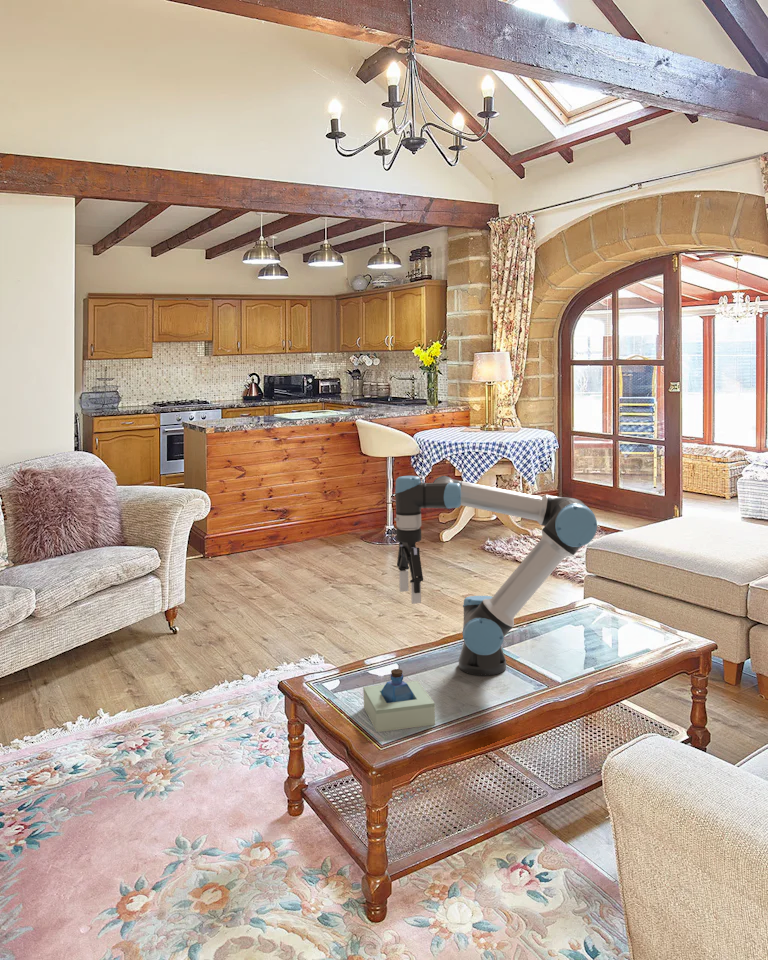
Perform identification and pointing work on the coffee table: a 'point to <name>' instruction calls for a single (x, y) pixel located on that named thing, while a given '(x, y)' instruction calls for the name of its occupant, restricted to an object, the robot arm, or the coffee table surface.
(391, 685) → the perfume bottle
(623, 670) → the coffee table surface
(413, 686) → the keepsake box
